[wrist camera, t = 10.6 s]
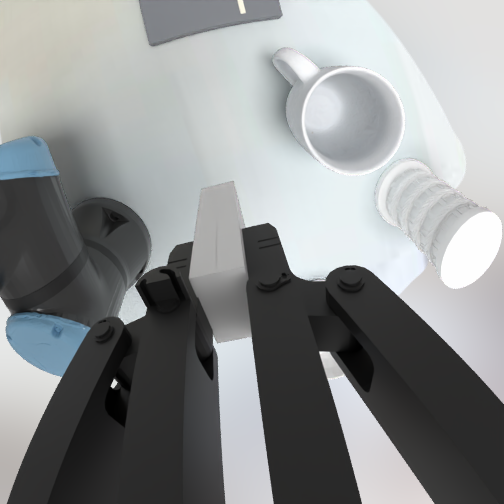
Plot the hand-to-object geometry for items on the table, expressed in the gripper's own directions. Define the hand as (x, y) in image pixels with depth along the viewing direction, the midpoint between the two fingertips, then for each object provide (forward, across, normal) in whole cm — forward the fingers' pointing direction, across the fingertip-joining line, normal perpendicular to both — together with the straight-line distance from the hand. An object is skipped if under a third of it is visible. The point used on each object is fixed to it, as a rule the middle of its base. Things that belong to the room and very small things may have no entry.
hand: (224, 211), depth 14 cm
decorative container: (+27, +26, -15) cm, 40 cm away
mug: (+27, +12, +1) cm, 29 cm away
